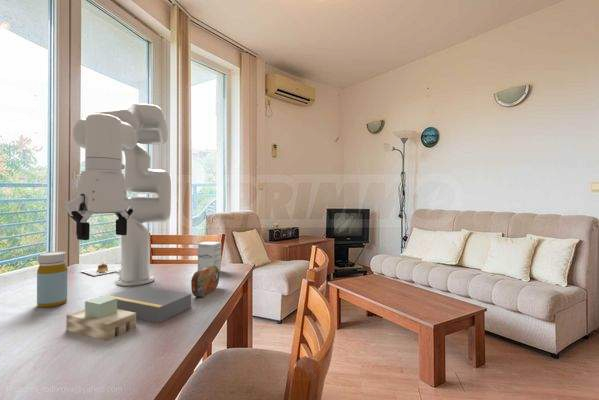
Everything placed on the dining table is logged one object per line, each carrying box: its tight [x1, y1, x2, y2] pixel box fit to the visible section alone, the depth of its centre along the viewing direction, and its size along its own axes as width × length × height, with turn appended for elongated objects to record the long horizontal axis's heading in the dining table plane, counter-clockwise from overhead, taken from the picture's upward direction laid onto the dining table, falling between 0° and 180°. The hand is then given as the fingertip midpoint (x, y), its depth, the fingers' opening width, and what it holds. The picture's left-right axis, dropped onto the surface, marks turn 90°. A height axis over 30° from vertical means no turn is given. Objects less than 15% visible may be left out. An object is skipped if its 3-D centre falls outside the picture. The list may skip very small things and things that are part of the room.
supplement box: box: [197, 241, 222, 272], centre depth 132 cm, size 7×7×13 cm
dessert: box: [80, 261, 121, 277], centre depth 130 cm, size 12×12×5 cm
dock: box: [106, 285, 192, 324], centre depth 88 cm, size 20×12×4 cm, turn 69°
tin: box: [190, 266, 220, 298], centre depth 104 cm, size 15×3×8 cm, turn 168°
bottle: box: [36, 251, 68, 309], centre depth 91 cm, size 7×7×15 cm
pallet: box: [65, 308, 137, 342], centre depth 75 cm, size 14×8×4 cm, turn 69°
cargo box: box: [84, 295, 117, 319], centre depth 75 cm, size 5×4×3 cm
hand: (103, 237), depth 75 cm, fingers open, 9 cm apart
